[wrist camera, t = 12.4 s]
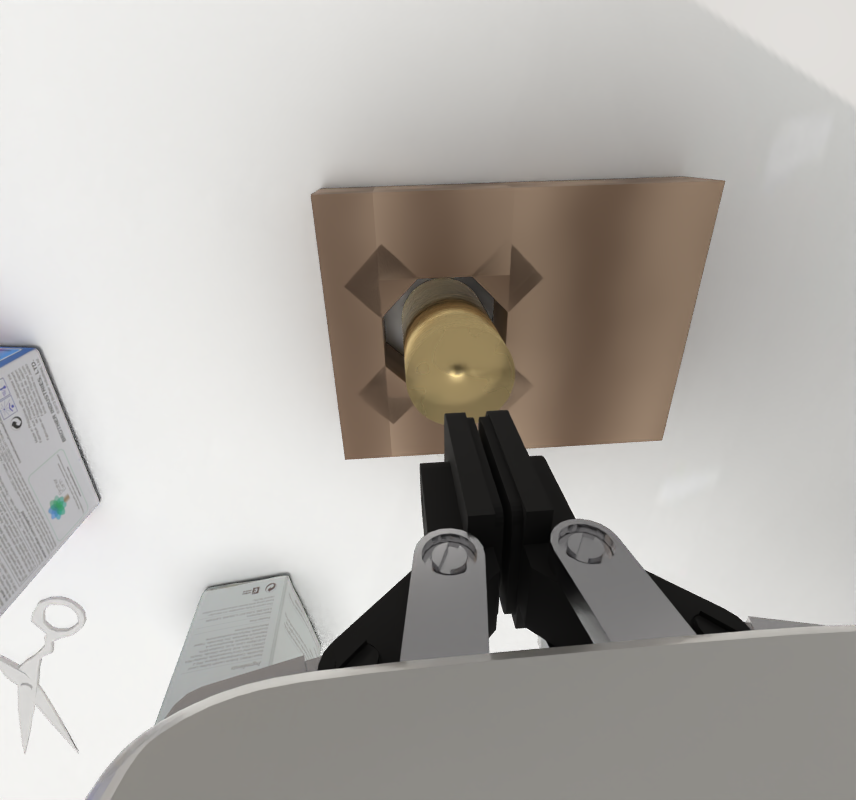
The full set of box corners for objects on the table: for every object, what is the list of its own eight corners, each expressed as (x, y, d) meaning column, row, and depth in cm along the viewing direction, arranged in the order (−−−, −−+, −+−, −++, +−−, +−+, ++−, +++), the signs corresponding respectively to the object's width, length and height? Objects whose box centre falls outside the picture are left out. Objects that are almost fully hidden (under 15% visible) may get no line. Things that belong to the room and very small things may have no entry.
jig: (683, 176, 21) (725, 180, 19) (635, 411, 27) (661, 440, 24) (320, 188, 20) (310, 194, 18) (349, 427, 26) (345, 459, 23)
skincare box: (203, 585, 31) (65, 909, 18) (294, 569, 31) (224, 883, 18) (248, 664, 35) (162, 976, 22) (329, 650, 35) (292, 955, 22)
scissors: (74, 584, 30) (121, 759, 39) (81, 574, 30) (125, 749, 39) (-119, 576, 28) (-24, 759, 37) (-107, 566, 29) (-17, 749, 38)
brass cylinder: (483, 275, 23) (518, 324, 17) (481, 353, 25) (512, 423, 18) (399, 279, 22) (403, 329, 16) (403, 357, 24) (408, 429, 18)
